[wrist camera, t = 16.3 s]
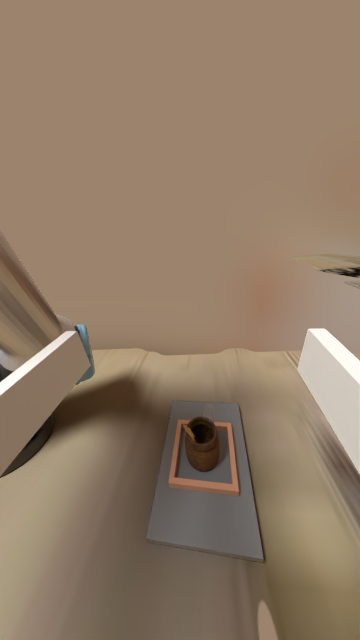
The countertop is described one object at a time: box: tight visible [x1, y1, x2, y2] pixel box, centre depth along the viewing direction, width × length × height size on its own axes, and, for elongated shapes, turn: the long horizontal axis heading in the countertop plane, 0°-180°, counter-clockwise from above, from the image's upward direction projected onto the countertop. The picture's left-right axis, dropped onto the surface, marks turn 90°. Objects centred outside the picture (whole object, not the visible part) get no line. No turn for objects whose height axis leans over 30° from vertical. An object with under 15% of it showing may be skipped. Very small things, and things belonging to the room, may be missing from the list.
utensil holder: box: [182, 404, 220, 472], centre depth 31 cm, size 6×6×12 cm
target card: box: [146, 401, 264, 563], centre depth 33 cm, size 15×22×3 cm
